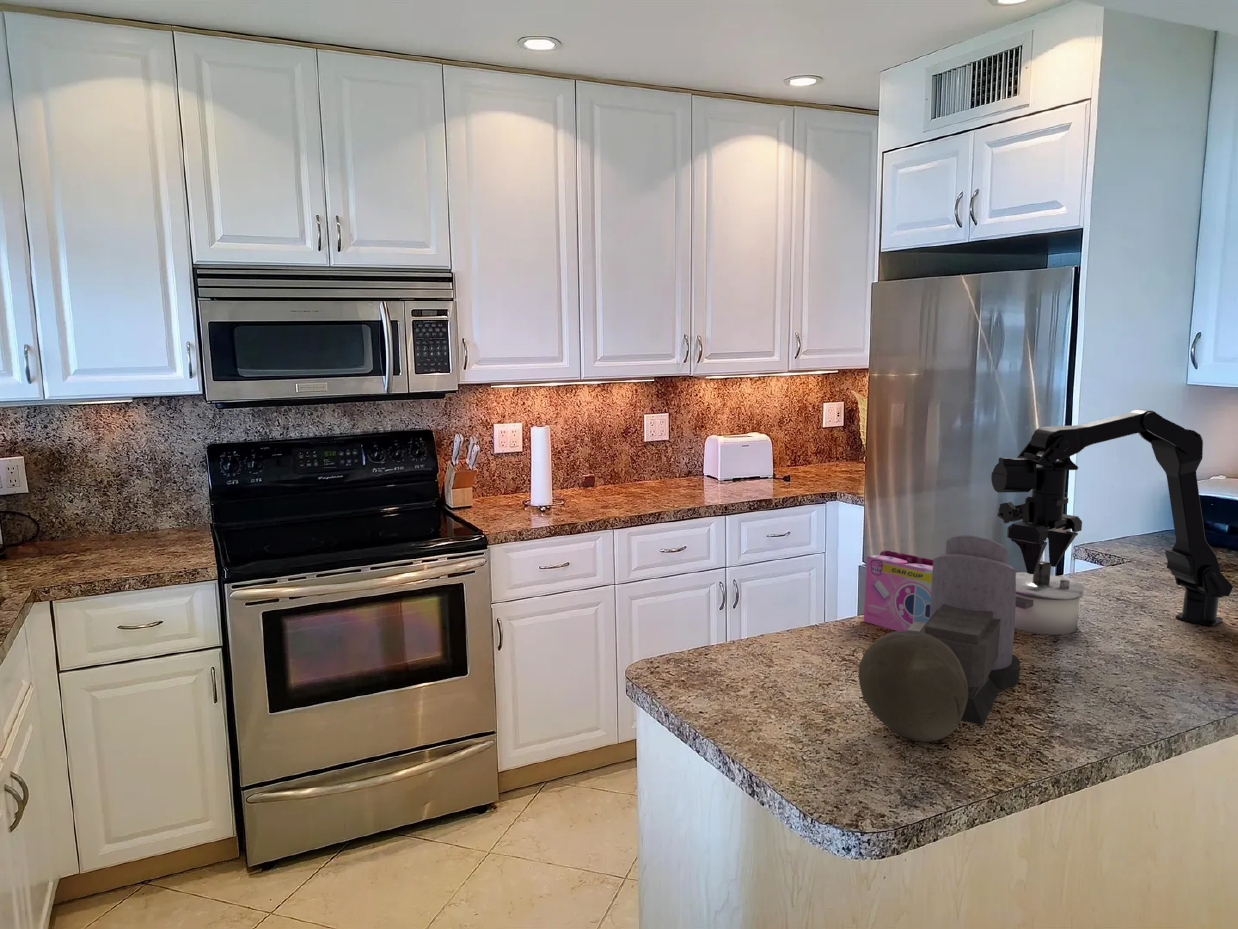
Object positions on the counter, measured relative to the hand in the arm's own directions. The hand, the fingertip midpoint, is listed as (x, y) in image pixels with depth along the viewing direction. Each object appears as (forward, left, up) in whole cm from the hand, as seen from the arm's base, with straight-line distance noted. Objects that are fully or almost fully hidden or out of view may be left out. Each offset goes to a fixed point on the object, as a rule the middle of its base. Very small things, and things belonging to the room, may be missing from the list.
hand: (1041, 570), depth 167 cm
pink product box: (+23, -11, -11) cm, 28 cm away
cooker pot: (0, 0, -11) cm, 11 cm away
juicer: (+40, +7, -11) cm, 42 cm away
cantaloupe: (+64, +13, -11) cm, 66 cm away
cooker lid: (0, 0, -4) cm, 4 cm away
